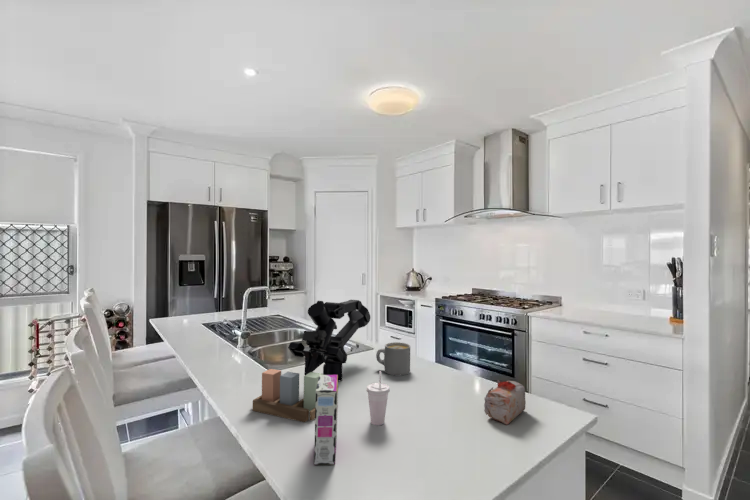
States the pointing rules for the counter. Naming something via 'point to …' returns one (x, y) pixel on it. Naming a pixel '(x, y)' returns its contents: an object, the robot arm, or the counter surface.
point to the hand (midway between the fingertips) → (305, 375)
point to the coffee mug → (395, 358)
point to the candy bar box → (326, 420)
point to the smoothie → (377, 401)
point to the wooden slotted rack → (283, 409)
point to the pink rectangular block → (271, 385)
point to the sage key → (310, 390)
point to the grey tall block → (289, 388)
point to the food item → (505, 401)
